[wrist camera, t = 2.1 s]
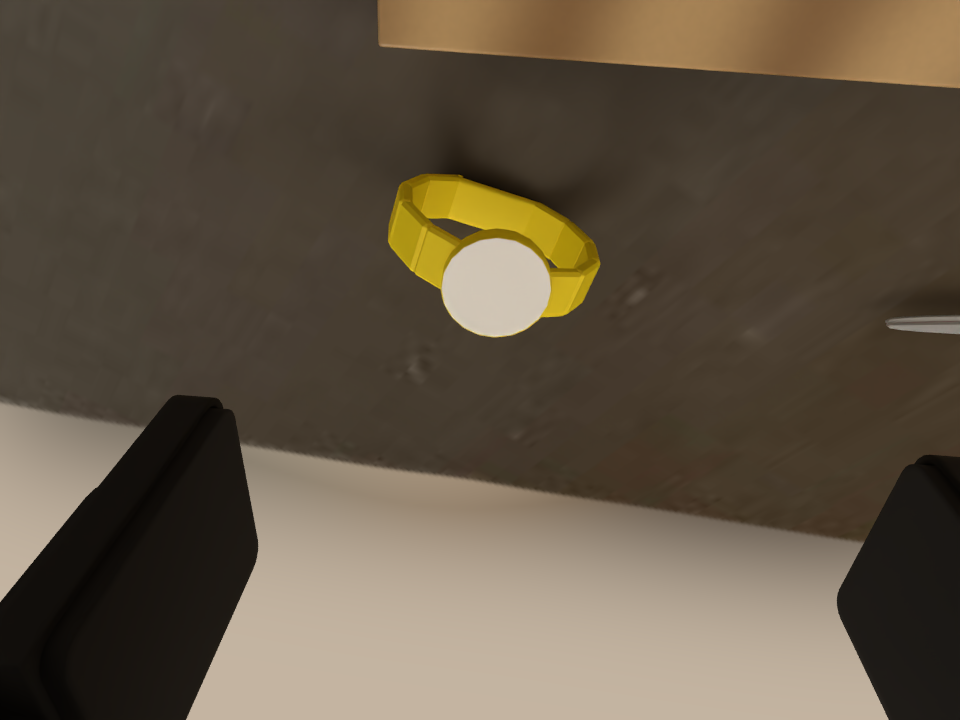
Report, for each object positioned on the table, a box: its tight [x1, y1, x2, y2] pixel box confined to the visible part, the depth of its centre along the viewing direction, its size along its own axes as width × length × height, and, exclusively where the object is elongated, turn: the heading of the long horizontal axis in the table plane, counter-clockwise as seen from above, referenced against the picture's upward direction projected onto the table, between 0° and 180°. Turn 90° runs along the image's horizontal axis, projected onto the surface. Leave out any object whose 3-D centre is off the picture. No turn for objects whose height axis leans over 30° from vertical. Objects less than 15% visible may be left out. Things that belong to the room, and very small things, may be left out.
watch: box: [388, 173, 600, 337], centre depth 18 cm, size 6×3×6 cm, turn 71°
